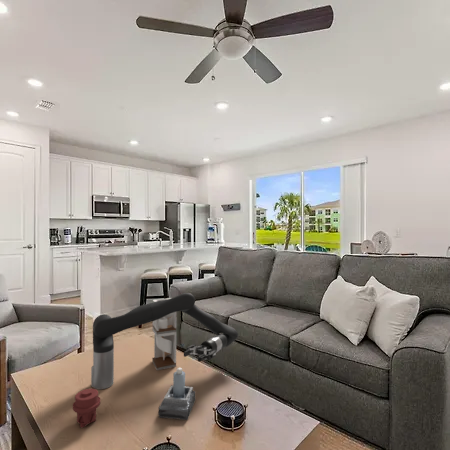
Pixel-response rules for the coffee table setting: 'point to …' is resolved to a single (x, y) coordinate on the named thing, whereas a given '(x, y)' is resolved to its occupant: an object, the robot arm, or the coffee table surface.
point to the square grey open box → (177, 405)
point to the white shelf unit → (165, 341)
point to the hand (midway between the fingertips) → (191, 357)
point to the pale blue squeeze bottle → (179, 383)
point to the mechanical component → (86, 406)
